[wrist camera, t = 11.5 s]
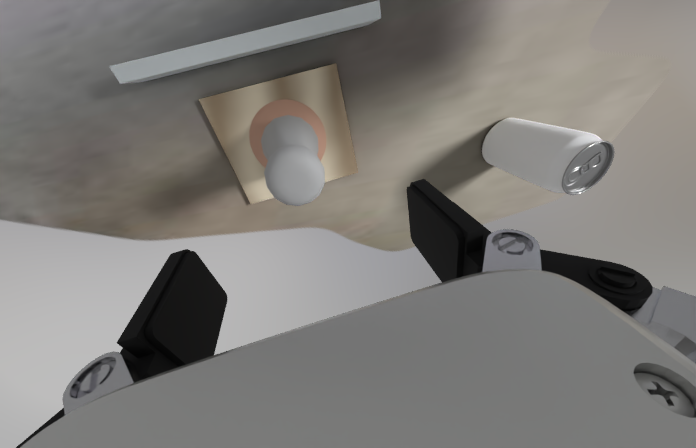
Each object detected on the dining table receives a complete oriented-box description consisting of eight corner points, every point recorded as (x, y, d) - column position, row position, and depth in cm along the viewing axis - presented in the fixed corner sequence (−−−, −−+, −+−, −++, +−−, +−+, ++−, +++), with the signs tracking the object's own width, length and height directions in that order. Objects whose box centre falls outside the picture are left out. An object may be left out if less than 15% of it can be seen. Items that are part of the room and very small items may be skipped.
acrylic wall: (365, 9, 24) (379, -1, 21) (367, 25, 25) (381, 18, 21) (134, 67, 22) (109, 66, 19) (143, 82, 23) (120, 83, 20)
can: (473, 138, 34) (554, 167, 24) (515, 106, 33) (618, 121, 23) (487, 172, 37) (563, 209, 27) (526, 144, 36) (619, 171, 26)
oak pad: (335, 63, 26) (336, 63, 25) (356, 170, 32) (358, 172, 32) (200, 98, 25) (198, 99, 24) (251, 202, 31) (250, 204, 31)
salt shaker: (304, 172, 30) (318, 228, 19) (256, 154, 28) (241, 206, 17) (323, 125, 28) (351, 159, 17) (272, 101, 26) (267, 123, 15)
